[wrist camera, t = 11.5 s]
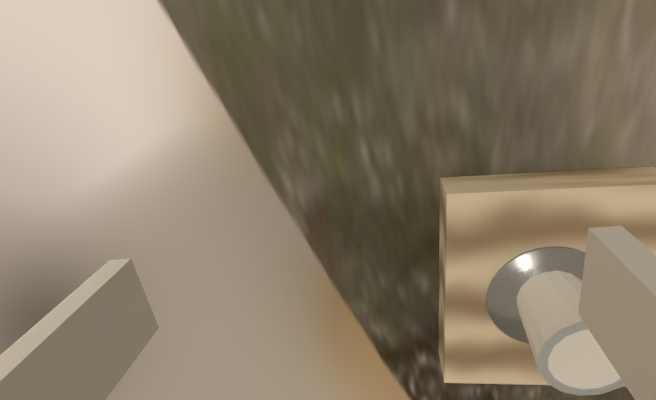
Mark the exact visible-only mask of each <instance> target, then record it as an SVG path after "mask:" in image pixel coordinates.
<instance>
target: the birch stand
mask: <svg viewBox="0 0 656 400" xmlns="http://www.w3.org/2000/svg"><path fill="white" fill-rule="evenodd" d="M608 226H623V227H624V228H625V229H626V230H627V231H629V232H630V233H631V234H632V235H633V236H634V237H636V238H637V239H638V240H639V241H640V242H641V243H642V244H644V245H645V246H646V247H647V248H648V249H649V250H651V251H652V252H653V253H654V254H655V255H656V168H654V167H652V166H651V167H632V168H613V169H594V170H575V171H556V172H537V173H518V174H499V175H480V176H461V177H442V178H440V229H439V357H440V362H441V368H442V373H443V379H444V383H481V384H524V385H549V384H548V383H547V382H546V381H545V379H544V378H543V376H542V375H541V373H540V372H539V370H538V367H537V364H536V361H535V358H534V355H533V352H532V350H531V347H530V344H529V341H528V338H527V335H526V332H525V329H524V326H523V323H522V320H521V317H520V314H519V311H518V308H517V298H516V297H517V295H518V293H519V290H520V288H521V287H522V286H523V285H524V284H525V283H526V282H527V281H528V280H529V279H530V278H532V277H534V276H536V275H538V274H540V273H543V272H550V271H562V272H567V273H571V274H573V275H574V276H576V277H577V278H579V279H580V280H582V277H583V269H584V260H585V252H586V243H587V235H588V228H594V227H608ZM622 387H626V385H625V384H624V385H623V386H622Z"/></svg>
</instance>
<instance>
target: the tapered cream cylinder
mask: <svg viewBox="0 0 656 400" xmlns="http://www.w3.org/2000/svg"><path fill="white" fill-rule="evenodd" d="M581 286H582V280H580V279H579V278H577V277H576V276H574V275H573V274H571V273H567V272H562V271H550V272H543V273H540V274H538V275H536V276H534V277H532V278H530V279H529V280H528V281H527V282H526V283H525V284H524V285H523V286H522V287H521V288H520V290H519V293H518V295H517V297H516V298H517V308H518V311H519V314H520V317H521V320H522V323H523V326H524V329H525V332H526V335H527V338H528V341H529V344H530V347H531V350H532V352H533V355H534V358H535V361H536V364H537V367H538V370H539V372H540V373H541V375H542V376H543V378H544V379H545V381H546V382H547V383H548V384H549V385H551V386H553V387H554V388H556V389H558V390H559V391H561V392H565V393H570V394H574V395H579V396H584V395H599V394H603V393H606V392H609V391H612V390H615V389H618V388H620V387H622V386H623V385H624V382H623V381H622V379H621V378H620V376H619V375H618V373H617V372H616V370H615V369H614V367H613V366H612V364H611V363H610V361H609V360H608V358H607V357H606V355H605V354H604V352H603V351H602V349H601V348H600V346H599V345H598V343H597V342H596V340H595V338H594V337H593V335H592V334H591V332H590V331H589V329H588V328H587V326H586V325H585V323H584V322H583V320H582V319H581V317H580V316H579V314H578V311H579V303H580V294H581Z"/></svg>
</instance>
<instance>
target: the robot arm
mask: <svg viewBox="0 0 656 400" xmlns="http://www.w3.org/2000/svg"><path fill="white" fill-rule="evenodd" d="M578 314H579V316H580V317H581V319H582V320H583V322H584V323H585V325H586V326H587V328H588V329H589V331H590V332H591V334H592V335H593V337H594V338H595V340H596V342H597V343H598V345H599V346H600V348H601V349H602V351H603V352H604V354H605V355H606V357H607V358H608V360H609V361H610V363H611V364H612V366H613V367H614V369H615V370H616V372H617V373H618V375H619V376H620V378H621V379H622V381H623V382H624V384H625V385H626V387H627V388H628V390H629V391H630V393H631V394H632V396H633V397H634V399H635V400H656V255H655V254H654V253H653V252H652V251H651V250H649V249H648V248H647V247H646V246H645V245H644V244H642V243H641V242H640V241H639V240H638V239H637V238H636V237H634V236H633V235H632V234H631V233H630V232H629V231H627V230H626V229H625V228H624V227H623V226H608V227H594V228H588V235H587V243H586V252H585V260H584V269H583V277H582V286H581V294H580V303H579V311H578ZM158 328H159V327H158V324H157V322H156V319H155V317H154V314H153V312H152V310H151V307H150V305H149V302H148V300H147V297H146V295H145V292H144V290H143V287H142V285H141V282H140V280H139V277H138V275H137V273H136V270H135V268H134V265H133V263H132V260H131V259H122V260H109V261H108V262H107V263H106V264H105V265H104V266H102V267H101V268H100V269H99V270H98V271H97V272H96V273H94V274H93V275H92V276H91V277H90V278H89V279H88V280H86V281H85V282H84V283H83V284H82V285H81V286H79V287H78V288H77V289H76V290H75V291H74V292H73V293H71V294H70V295H69V296H68V297H67V298H66V299H65V300H63V301H62V302H61V303H60V304H59V305H58V306H56V307H55V308H54V309H53V310H52V311H51V312H49V313H48V314H47V315H46V316H45V317H44V318H43V319H41V320H40V321H39V322H38V323H37V324H36V325H35V326H34V327H32V328H31V329H30V330H29V331H28V332H27V333H25V334H24V335H23V336H22V337H21V338H20V339H18V340H17V341H16V342H15V343H14V344H13V345H12V346H10V347H9V348H8V349H7V350H6V351H5V352H3V353H2V354H1V355H0V400H106V398H107V397H108V396H109V394H110V393H111V392H112V390H113V389H114V387H115V386H116V385H117V383H118V382H119V381H120V379H121V378H122V377H123V375H124V374H125V373H126V371H127V370H128V368H129V367H130V366H131V364H132V363H133V362H134V360H135V359H136V358H137V356H138V355H139V354H140V352H141V351H142V349H143V348H144V347H145V345H146V344H147V343H148V341H149V340H150V339H151V337H152V336H153V335H154V333H155V332H156V331H157V329H158Z"/></svg>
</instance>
